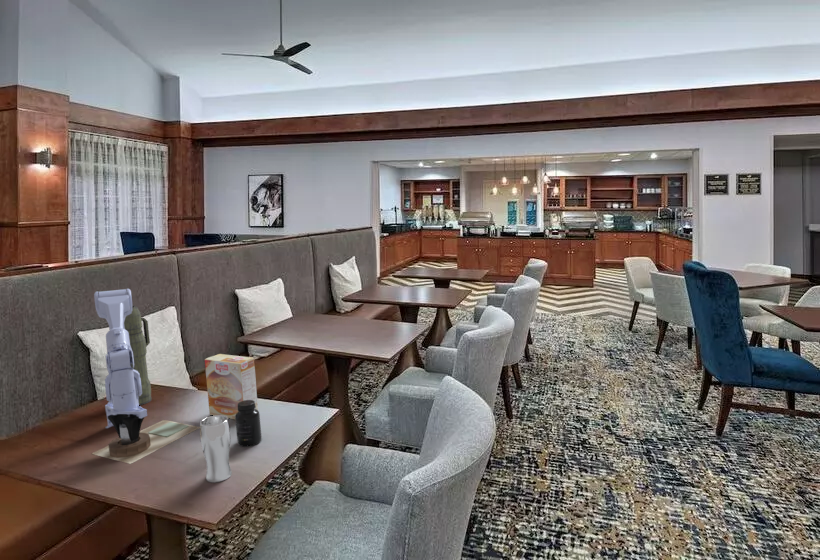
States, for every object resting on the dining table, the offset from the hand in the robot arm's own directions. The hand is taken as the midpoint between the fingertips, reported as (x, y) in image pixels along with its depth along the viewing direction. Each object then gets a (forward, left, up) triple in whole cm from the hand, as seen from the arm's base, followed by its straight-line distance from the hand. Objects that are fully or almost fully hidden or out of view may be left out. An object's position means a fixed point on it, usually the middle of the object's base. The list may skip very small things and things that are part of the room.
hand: (129, 438), depth 140 cm
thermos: (-33, +28, -4) cm, 44 cm away
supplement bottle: (+28, +17, -4) cm, 33 cm away
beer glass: (+34, -1, -4) cm, 34 cm away
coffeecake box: (+9, +31, -4) cm, 33 cm away
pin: (0, 0, -3) cm, 3 cm away
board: (0, +6, -4) cm, 7 cm away
